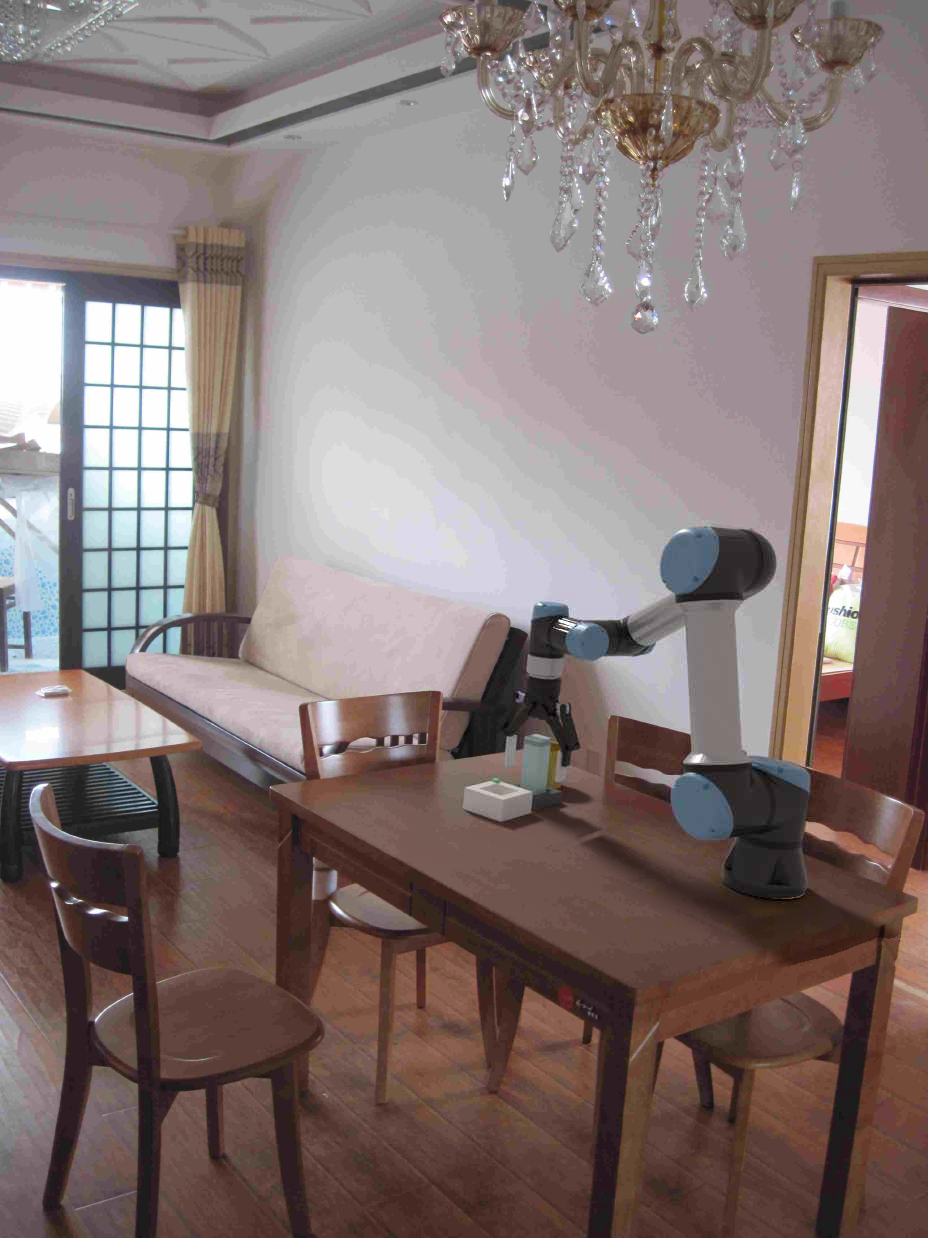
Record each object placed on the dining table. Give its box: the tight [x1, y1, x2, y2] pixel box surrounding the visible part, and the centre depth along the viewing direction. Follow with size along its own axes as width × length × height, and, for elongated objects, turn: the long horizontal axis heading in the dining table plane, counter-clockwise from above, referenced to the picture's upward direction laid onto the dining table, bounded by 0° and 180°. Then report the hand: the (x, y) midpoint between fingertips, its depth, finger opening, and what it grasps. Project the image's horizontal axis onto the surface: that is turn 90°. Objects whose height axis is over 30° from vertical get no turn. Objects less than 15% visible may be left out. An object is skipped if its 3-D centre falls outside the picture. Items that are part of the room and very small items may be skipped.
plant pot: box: [546, 741, 563, 790], centre depth 259 cm, size 10×10×10 cm
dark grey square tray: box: [512, 783, 563, 811], centre depth 246 cm, size 9×9×3 cm
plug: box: [519, 733, 552, 795], centre depth 245 cm, size 4×4×14 cm
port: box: [462, 777, 533, 822], centre depth 236 cm, size 10×10×6 cm
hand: (534, 773), depth 245 cm, fingers open, 13 cm apart
